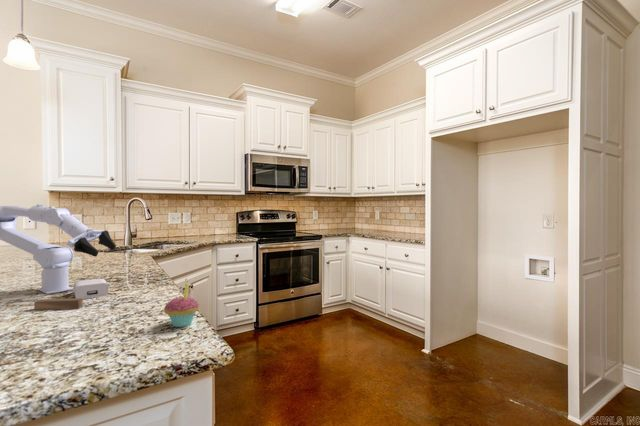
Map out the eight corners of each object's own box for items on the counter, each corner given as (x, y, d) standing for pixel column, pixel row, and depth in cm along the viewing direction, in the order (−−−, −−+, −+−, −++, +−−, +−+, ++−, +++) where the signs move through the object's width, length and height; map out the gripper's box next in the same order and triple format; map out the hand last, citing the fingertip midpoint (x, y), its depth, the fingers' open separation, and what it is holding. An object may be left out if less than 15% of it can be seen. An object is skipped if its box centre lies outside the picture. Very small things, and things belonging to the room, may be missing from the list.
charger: (102, 287, 129) (108, 295, 118) (73, 291, 123) (75, 300, 112) (102, 275, 129) (108, 282, 117) (73, 278, 123) (75, 286, 112)
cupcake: (205, 320, 93) (205, 277, 92) (183, 331, 85) (183, 284, 84) (180, 317, 96) (180, 275, 95) (156, 327, 88) (156, 281, 87)
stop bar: (39, 307, 103) (39, 299, 103) (82, 306, 105) (82, 298, 105) (34, 310, 101) (34, 301, 101) (78, 308, 103) (78, 300, 103)
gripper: (61, 225, 114) (92, 248, 113) (97, 216, 128) (125, 236, 126) (55, 242, 116) (85, 264, 115) (91, 231, 130) (119, 251, 128)
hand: (106, 251), depth 121 cm, fingers open, 7 cm apart
